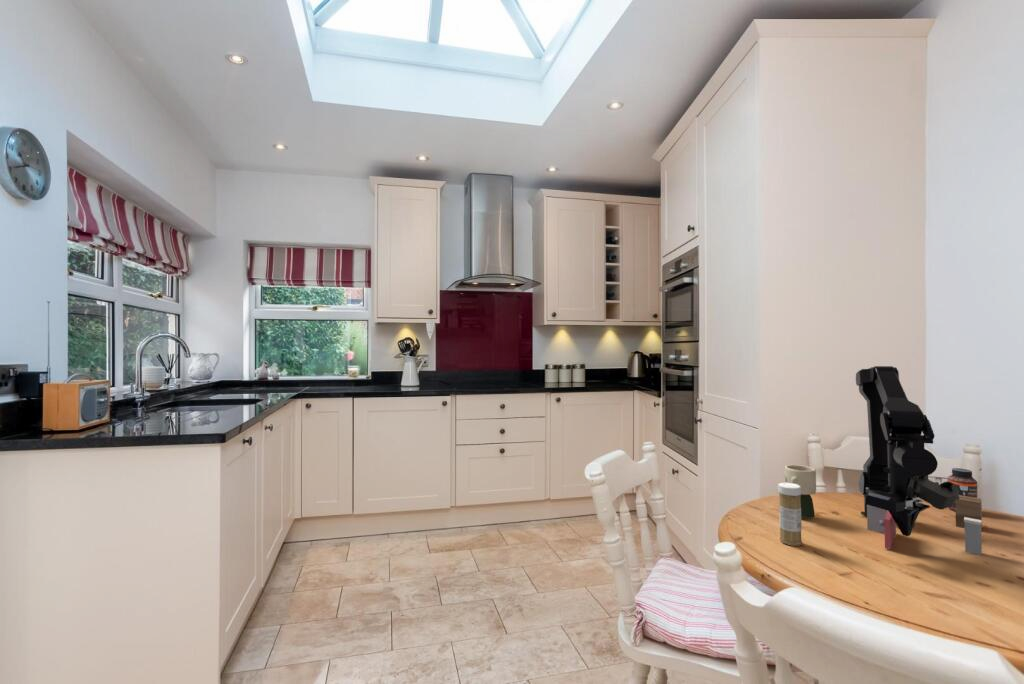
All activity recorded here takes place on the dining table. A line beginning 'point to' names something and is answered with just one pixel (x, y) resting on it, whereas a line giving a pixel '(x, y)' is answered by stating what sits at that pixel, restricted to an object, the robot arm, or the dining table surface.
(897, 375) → the robot arm
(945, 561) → the dining table surface
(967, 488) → the supplement bottle
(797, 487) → the sprinkles bottle
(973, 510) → the block
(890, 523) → the door
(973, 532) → the pair of grey plates
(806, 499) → the character mug
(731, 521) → the dining table surface
